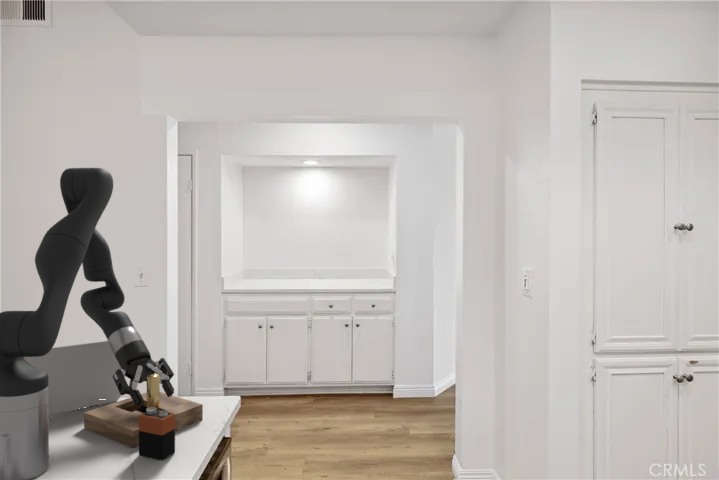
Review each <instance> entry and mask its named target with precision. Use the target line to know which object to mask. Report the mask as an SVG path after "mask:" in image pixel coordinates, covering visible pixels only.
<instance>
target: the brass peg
mask: <svg viewBox="0 0 719 480" xmlns="http://www.w3.org/2000/svg"><path fill="white" fill-rule="evenodd" d="M160 385H161V384H160V375H159V374H156V373H155V374H151V375H148V376H147V381H146V393H147V409H148V408H154V407H155V408H156V410H159V411H160V392H161V391H160V390H161V389H160Z"/></svg>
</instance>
